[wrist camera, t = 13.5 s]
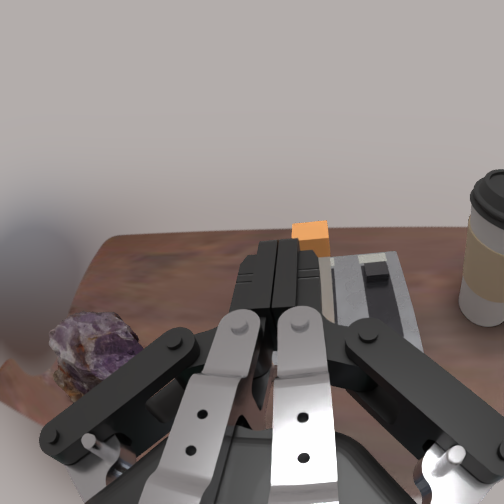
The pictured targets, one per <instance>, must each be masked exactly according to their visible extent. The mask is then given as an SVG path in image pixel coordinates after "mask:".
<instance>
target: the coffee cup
mask: <svg viewBox="0 0 504 504" xmlns="http://www.w3.org/2000/svg"><path fill="white" fill-rule="evenodd" d="M470 201H471V204H472V206H471V215H470V216H469V220H468V231H467V241H466V249H465V257H464V264H463V278H462V284H461V289H460V294H459V306H460V309H461V311H462V313H463V314H464V315H465V317H466V318H467V319H469V320H470V321H471V322H473V323H475V324H477V325H480V326H484V327H492V326H496V325H499V324H501V323H502V322H503V321H504V170H503V169H499V170H493V171H491V172H489V173H487V174H486V176H485V177H484V178H482V179H480V180H479V181H477V182H476V184H475V186H474V189H473V190H472V192H471V194H470Z"/></svg>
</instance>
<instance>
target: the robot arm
mask: <svg viewBox="0 0 504 504" xmlns="http://www.w3.org/2000/svg"><path fill="white" fill-rule="evenodd" d="M273 351H278V364H277V377H275V380H274V400H273V428H271V429H266V424H265V413H266V408H267V403H268V398H269V393H270V388H271V383H272V378H273V373H274V365H273V362H272V354H273ZM174 378H175V379H174ZM173 379H174V380H173ZM171 380H173V381H172V382H170V381H171ZM169 382H170V383H169ZM168 383H169V384H168ZM166 384H168V385H167V386H165V385H166ZM330 385H332V386H336V387H340V388H344V389H346V391H347V392H348V393H349V394H350V395H351V396H352V397H353V398H354V399H355V400H356V401H357V402H358V403H359V404H360V405H361V406H362V407H363V408H364V409H365V410H366V411H367V412H368V413H369V414H370V415H371V416H373V417H374V418H375V419H376V420H377V421H378V422H379V423H380V424H381V425H382V426H383V427H384V428H385V429H386V430H387V431H388V432H389V433H390V434H391V435H392V436H393V437H394V438H396V439H397V440H398V441H399V442H400V443H401V444H402V445H403V446H404V447H405V448H406V449H407V450H408V451H409V452H410V453H411V454H413V455H414V456H415V457H416V458H417V459H418V460H419V461H418V462H417V464H416V466H415V468H414V471H413V479H414V483H415V485H416V486H417V488H418V489H419V490H420V492H421V495H422V504H479V502H480V501H481V500H482V499H483V498H484V497H485V495H486V494H487V493H488V492H489V490H490V489H491V488H492V486H494V485H495V484H496V483H498V482H499V481H501V480H502V479H504V417H503V416H502V415H501V414H499V413H498V412H497V411H496V410H495V409H493V408H492V407H491V406H490V405H488V404H487V403H486V402H485V401H483V400H482V399H481V398H480V397H478V396H477V395H476V394H475V393H473V392H472V391H471V390H470V389H468V388H467V387H466V386H465V385H463V384H462V383H461V382H460V381H458V380H457V379H456V378H455V377H453V376H452V375H451V374H450V373H448V372H447V371H446V370H445V369H443V368H442V367H441V366H439V365H438V364H437V363H436V362H434V361H433V360H432V359H431V358H429V357H428V356H427V355H425V354H424V353H423V352H422V351H420V350H419V349H418V348H416V347H415V346H414V345H413V344H411V343H410V342H409V341H407V340H406V339H405V338H404V337H402V336H401V335H400V334H398V333H397V332H396V331H394V330H393V329H392V328H390V327H389V326H388V325H387V324H385V323H384V322H382V321H381V320H378V319H375V318H362V319H358V320H356V321H354V322H353V323H352V324H350V325H349V327H348V326H343V325H338V324H335V323H332V322H331V321H329V320H328V319H326V318H325V317H324V315H323V314H322V293H321V279H320V269H319V259H318V257H317V255H316V254H315V252H314V251H313V250H303V251H300V245H299V239H298V238H291V239H281V240H270V241H260V242H259V246H258V251H257V255H248V256H247V257H246V258H245V259H244V261H243V262H242V263H241V264H240V268H239V272H238V277H237V281H236V285H235V289H234V293H233V298H232V302H231V306H230V310H229V313H228V314H227V315H226V316H224V317H223V318H222V320H221V321H220V323H219V326H217V327H216V328H214V329H212V330H209V331H205V332H202V333H198V334H195V335H193V333H192V332H191V331H190V330H189V329H187V328H183V327H178V328H173V329H170V330H168V331H167V332H165V333H164V334H162V335H161V336H160V337H159V338H157V339H156V340H155V341H153V342H152V343H151V344H150V345H148V346H147V347H146V348H145V349H143V350H142V351H141V352H139V353H138V354H137V355H135V356H134V357H133V358H132V359H130V360H129V361H128V362H126V363H125V364H124V365H123V366H121V367H120V368H119V369H117V370H116V371H115V372H114V373H112V374H111V375H110V376H108V377H107V378H106V379H104V380H103V381H102V382H101V383H99V384H98V385H97V386H95V387H94V388H93V389H92V390H90V391H89V392H88V393H86V394H85V395H84V396H82V397H81V398H80V399H78V400H77V401H76V402H75V403H73V404H72V405H71V406H69V407H68V408H67V409H65V410H64V411H63V412H61V413H60V414H59V415H58V416H56V417H55V418H54V419H52V420H51V421H50V422H48V423H47V424H46V425H45V426H44V427H43V429H42V431H41V433H40V438H39V443H40V447H41V449H42V451H43V452H44V453H45V454H47V455H49V456H51V457H52V458H54V459H55V460H57V461H59V462H60V463H62V464H64V465H65V467H66V469H67V471H68V473H69V475H70V477H71V479H72V481H73V483H74V485H75V487H76V489H77V491H78V493H79V494H80V496H81V498H82V500H83V502H84V504H417V503H416V502H415V501H414V500H413V499H412V498H411V497H410V496H409V495H408V494H407V493H406V492H405V491H404V489H403V488H402V487H401V486H400V485H399V484H398V483H397V482H396V481H395V480H394V479H393V478H392V477H391V476H390V475H389V473H388V472H387V471H386V470H385V469H384V468H383V467H382V466H381V465H380V464H379V463H378V462H377V460H376V459H375V458H374V457H373V456H372V455H371V454H370V453H369V452H368V451H367V450H366V449H365V447H364V446H362V445H361V444H360V443H359V442H357V441H356V440H354V439H352V438H351V437H349V436H346V435H344V434H341V433H338V432H335V431H334V423H333V411H332V399H331V389H330ZM164 386H165V387H164ZM163 387H164V388H163ZM161 388H163V389H162V390H160V389H161ZM159 390H160V391H159ZM158 391H159V392H158ZM156 392H158V393H157V394H155V393H156ZM154 394H155V395H154ZM153 395H154V396H153ZM151 396H153V397H152V398H150V397H151ZM149 398H150V399H149ZM265 429H266V430H265ZM169 432H170V434H169V436H168V437H167V438H165V439H164V440H163V441H161V442H160V443H159V444H158V445H157V446H156V447H154V448H153V449H152V450H151V451H150V452H148V453H147V454H146V455H145V456H144V457H142V458H141V459H140V460H139V461H137V462H136V458H137V457H138V456H139V455H141V454H142V453H143V452H144V451H146V450H147V449H148V448H150V447H151V446H152V445H153V444H155V443H156V442H157V441H159V440H160V439H161V438H162V437H164V436H165V435H166V434H167V433H169Z"/></svg>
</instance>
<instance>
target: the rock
mask: <svg viewBox="0 0 504 504" xmlns="http://www.w3.org/2000/svg"><path fill="white" fill-rule="evenodd" d="M49 337H50V341H49V345H50V346H51V348H52V349H53V351H54V352H55V353H56V354H57V356H58V359H57V361H58V370H57V371H55V372H54V374H53V377H54V381H55V382H56V383H57V385H58V386H59V387H61V388H62V389H63V390H64V391H65V392H66V393H67V394H68V395H69V396H70V397H71V400H72V402H73V403H75V402H76V401H77V400H78V399H80V398H81V397H82V396H84V395H85V394H86V393H88V392H89V391H90V390H92V389H93V388H94V387H95V386H97V385H98V384H99V383H101V382H102V381H103V380H104V379H106V378H107V377H108V376H110V375H111V374H112V373H114V372H115V371H116V370H117V369H119V368H120V367H121V366H123V365H124V364H125V363H126V362H128V361H129V360H130V359H132V358H133V357H134V356H135V355H137V354H138V353H139V352H141V351H142V350H143V347H142V346H141V345H140V344H139V343H138V341H139V339H138V336H137V335H136V334H135V333H134V332H133V331H132V330H131V328H130V326H128V325H127V324H125V323H124V322H123V320H122V319H121V318H120V316H119V315H118V314H116V313H115V312H99V313H95V312H84V311H82V312H80V313H75V314H73V315H70V316H69V317H68V318H67V319H65V320H63V321H62V322H60V323H59V324H58V325H57V327H56V328H55V329H53V330H51V331H50V332H49Z"/></svg>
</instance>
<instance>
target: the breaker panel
mask: <svg viewBox="0 0 504 504" xmlns="http://www.w3.org/2000/svg"><path fill="white" fill-rule="evenodd" d="M330 264H331V276H332V289H333V303H334V320H335V324H338V325H343V326H348V327H349V325H350V324H352V323H353V322H354V321H356V320H358V319H362V318H375V319H378V320H381V321H382V322H384V323H385V324H387V325H388V326H389V327H390V328H392V329H393V330H394V331H396V332H397V333H398V334H400V335H401V336H402V337H404V338H405V339H406V340H407V341H409V342H410V343H411V344H413V345H414V346H415V347H416V348H418V349H419V350H420V351H422V352H423V347H422V343H421V339H420V334H419V330H418V326H417V322H416V318H415V314H414V310H413V307H412V303H411V299H410V296H409V292H408V289H407V285H406V282H405V278H404V275H403V272H402V269H401V265H400V262H399V259H398V256H397V253H396V251H391V252H381V253H370V254H360V255H349V256H338V257H330ZM423 353H424V352H423ZM272 362H273V365H274V373H273V378H272V381H274V380H275V377H277V364H278V351H273V354H272Z"/></svg>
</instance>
